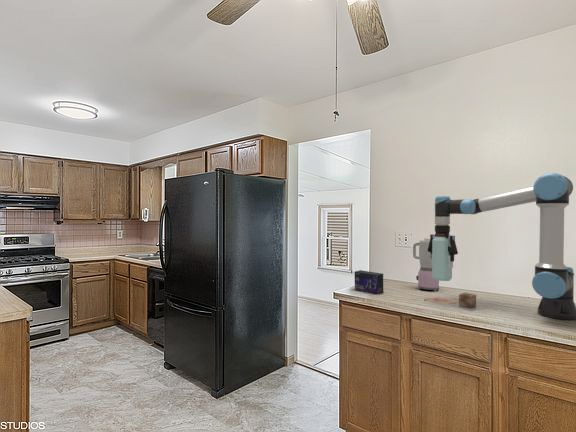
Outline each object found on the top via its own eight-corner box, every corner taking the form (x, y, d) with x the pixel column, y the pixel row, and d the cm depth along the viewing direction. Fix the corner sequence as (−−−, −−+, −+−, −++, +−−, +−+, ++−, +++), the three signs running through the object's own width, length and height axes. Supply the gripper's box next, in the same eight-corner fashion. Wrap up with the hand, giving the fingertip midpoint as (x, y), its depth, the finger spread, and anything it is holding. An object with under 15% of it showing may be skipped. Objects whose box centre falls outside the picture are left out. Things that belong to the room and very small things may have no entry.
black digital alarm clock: (354, 290, 220) (354, 271, 220) (360, 288, 225) (360, 270, 225) (377, 294, 208) (377, 274, 208) (383, 293, 212) (384, 273, 212)
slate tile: (488, 309, 175) (488, 307, 175) (471, 312, 169) (471, 311, 169) (464, 303, 187) (464, 302, 187) (447, 306, 180) (447, 305, 180)
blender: (441, 289, 224) (441, 238, 224) (436, 292, 214) (436, 239, 214) (415, 286, 233) (416, 237, 233) (410, 289, 223) (410, 238, 224)
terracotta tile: (460, 303, 188) (460, 301, 188) (444, 305, 182) (444, 304, 182) (439, 298, 200) (439, 296, 200) (423, 300, 194) (423, 299, 194)
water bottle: (454, 281, 185) (454, 233, 185) (434, 280, 187) (434, 233, 187) (449, 278, 195) (449, 233, 195) (430, 277, 197) (430, 232, 197)
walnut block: (476, 306, 178) (476, 294, 178) (471, 308, 174) (471, 296, 174) (463, 304, 182) (463, 292, 182) (459, 306, 178) (459, 294, 178)
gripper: (465, 225, 183) (465, 268, 183) (429, 224, 203) (429, 263, 203) (456, 225, 179) (456, 269, 179) (420, 224, 199) (420, 264, 199)
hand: (442, 266), depth 191 cm, fingers closed on water bottle, 10 cm apart
